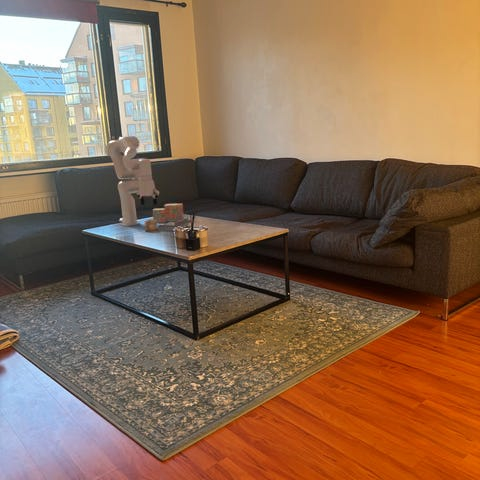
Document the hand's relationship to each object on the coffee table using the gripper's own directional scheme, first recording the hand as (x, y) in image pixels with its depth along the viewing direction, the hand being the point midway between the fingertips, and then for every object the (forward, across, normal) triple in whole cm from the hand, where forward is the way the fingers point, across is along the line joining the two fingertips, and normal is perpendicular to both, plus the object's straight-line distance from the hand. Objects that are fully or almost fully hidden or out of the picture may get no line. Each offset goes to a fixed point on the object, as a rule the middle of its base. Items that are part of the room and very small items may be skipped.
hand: (149, 204), depth 320 cm
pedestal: (+18, 0, 0) cm, 18 cm away
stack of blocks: (+18, -7, +32) cm, 37 cm away
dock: (+18, +11, +10) cm, 23 cm away
